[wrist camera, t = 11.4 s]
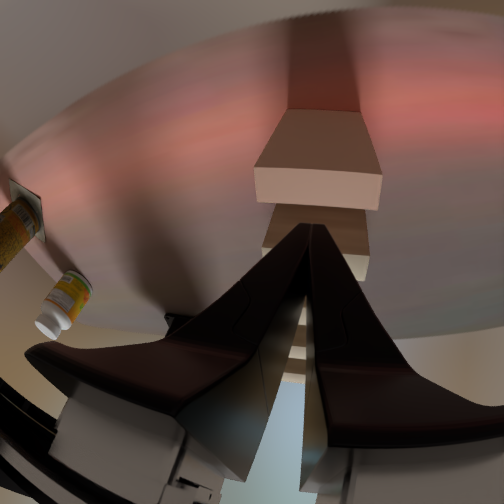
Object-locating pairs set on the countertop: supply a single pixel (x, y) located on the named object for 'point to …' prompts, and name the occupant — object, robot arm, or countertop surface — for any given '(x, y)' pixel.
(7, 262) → the condiment
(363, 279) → the domino
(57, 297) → the supplement bottle
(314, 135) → the domino
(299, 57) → the countertop surface
